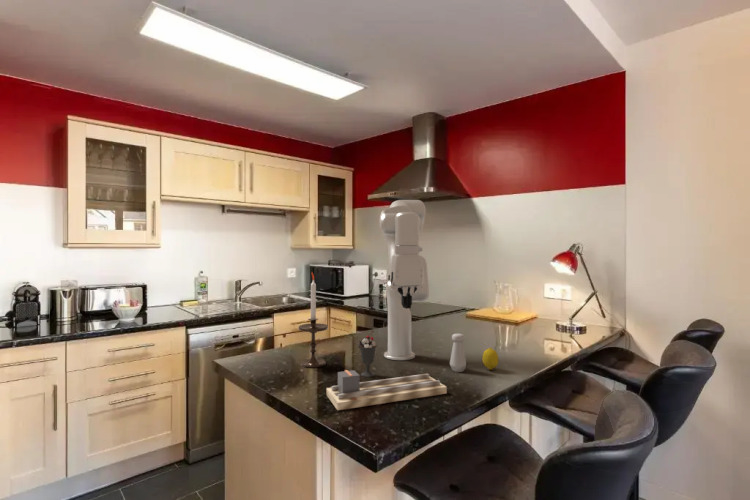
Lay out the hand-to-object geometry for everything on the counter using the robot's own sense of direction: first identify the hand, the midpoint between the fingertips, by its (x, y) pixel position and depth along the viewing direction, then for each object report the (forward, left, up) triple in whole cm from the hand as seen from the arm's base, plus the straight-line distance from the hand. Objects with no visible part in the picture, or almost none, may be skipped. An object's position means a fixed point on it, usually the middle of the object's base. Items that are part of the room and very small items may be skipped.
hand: (406, 307), depth 124 cm
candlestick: (-32, -24, -25) cm, 47 cm away
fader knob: (+6, -22, -22) cm, 31 cm away
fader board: (+6, -10, -25) cm, 27 cm away
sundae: (-13, -9, -25) cm, 29 cm away
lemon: (-2, +34, -25) cm, 43 cm away
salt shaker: (-6, +23, -25) cm, 35 cm away
